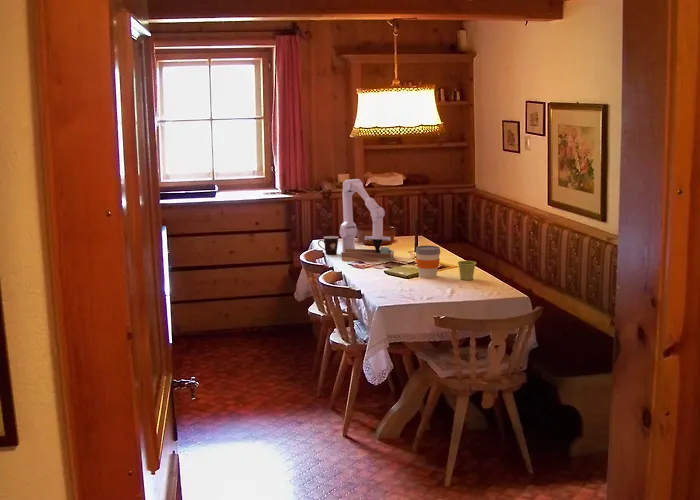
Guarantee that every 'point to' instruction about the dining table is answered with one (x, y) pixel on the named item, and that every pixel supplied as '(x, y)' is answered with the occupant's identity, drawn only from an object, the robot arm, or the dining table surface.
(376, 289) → the dining table surface
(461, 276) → the plant pot
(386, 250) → the teal block
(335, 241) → the coffee mug
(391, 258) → the trap tray
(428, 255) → the reusable coffee cup
